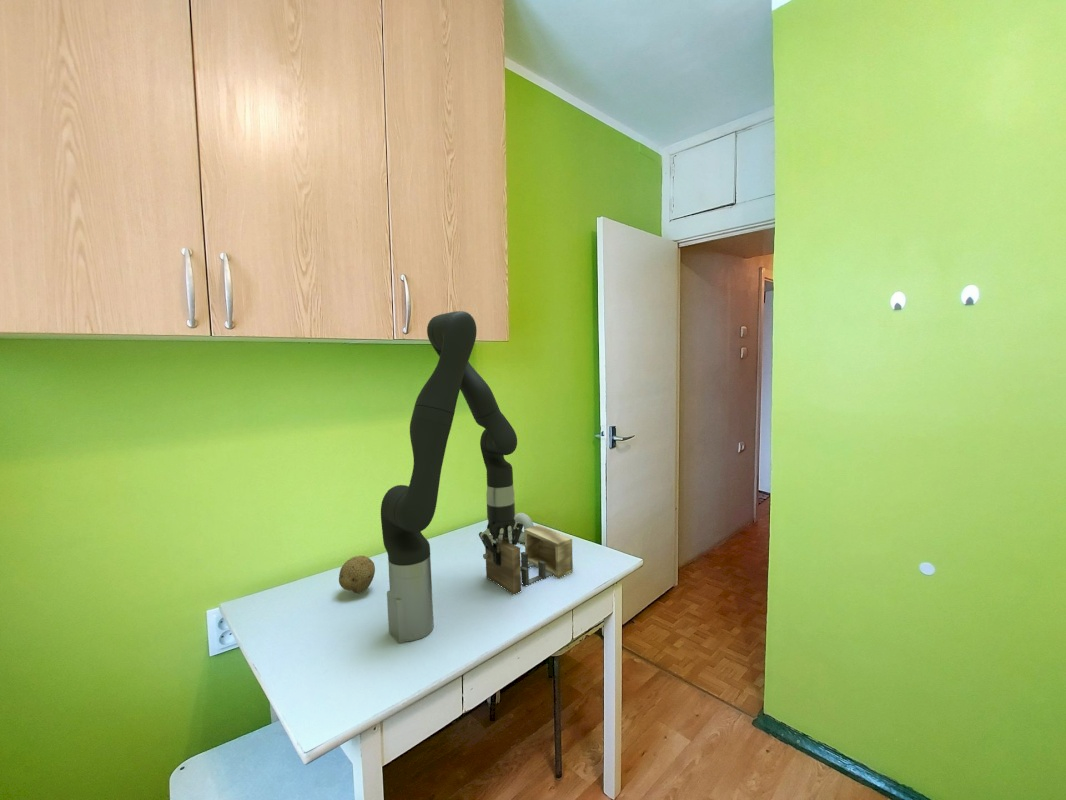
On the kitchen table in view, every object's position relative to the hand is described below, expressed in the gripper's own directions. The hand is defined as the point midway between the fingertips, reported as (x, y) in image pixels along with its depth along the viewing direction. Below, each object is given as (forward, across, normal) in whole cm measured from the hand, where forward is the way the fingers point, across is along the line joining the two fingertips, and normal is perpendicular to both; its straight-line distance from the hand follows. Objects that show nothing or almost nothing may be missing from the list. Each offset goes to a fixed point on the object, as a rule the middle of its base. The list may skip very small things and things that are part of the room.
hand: (502, 562), depth 126 cm
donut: (+6, +22, +20) cm, 30 cm away
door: (+6, 0, 0) cm, 6 cm away
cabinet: (+6, +11, 0) cm, 13 cm away
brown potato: (+6, -32, +22) cm, 39 cm away
